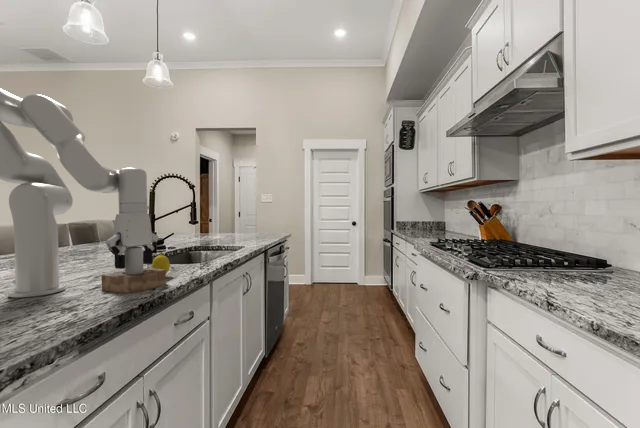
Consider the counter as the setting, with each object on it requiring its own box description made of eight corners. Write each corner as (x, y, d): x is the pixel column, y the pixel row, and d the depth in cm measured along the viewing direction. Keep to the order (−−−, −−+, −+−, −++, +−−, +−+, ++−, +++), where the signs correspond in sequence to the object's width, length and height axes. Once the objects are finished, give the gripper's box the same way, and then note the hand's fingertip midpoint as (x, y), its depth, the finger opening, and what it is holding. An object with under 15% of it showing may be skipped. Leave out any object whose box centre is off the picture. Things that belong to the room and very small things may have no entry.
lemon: (173, 275, 115) (172, 253, 115) (162, 279, 110) (162, 255, 110) (159, 275, 117) (159, 253, 117) (148, 278, 111) (148, 255, 111)
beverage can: (135, 289, 96) (134, 248, 96) (121, 288, 97) (120, 248, 97) (147, 285, 101) (146, 246, 100) (134, 284, 102) (132, 246, 101)
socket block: (98, 290, 95) (98, 275, 95) (137, 281, 107) (137, 267, 107) (132, 293, 91) (132, 277, 90) (168, 283, 103) (168, 269, 103)
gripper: (147, 209, 108) (148, 260, 108) (96, 209, 92) (98, 270, 92) (165, 209, 105) (166, 261, 106) (116, 209, 89) (117, 271, 89)
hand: (134, 265), depth 99 cm, fingers open, 9 cm apart
